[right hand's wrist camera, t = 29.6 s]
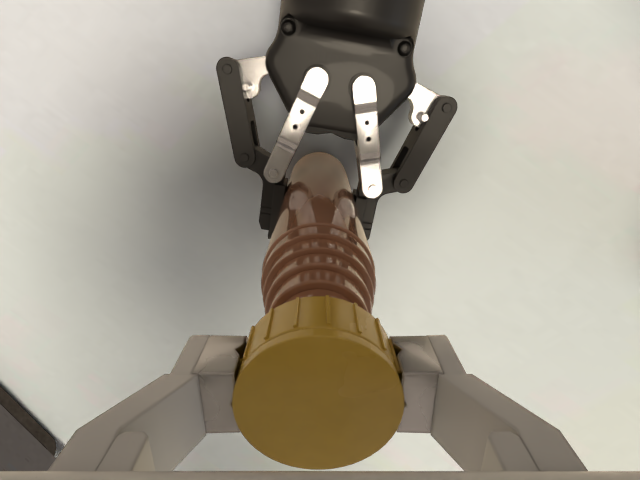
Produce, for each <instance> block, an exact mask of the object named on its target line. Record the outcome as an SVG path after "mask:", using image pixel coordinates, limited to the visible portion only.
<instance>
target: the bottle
mask: <svg viewBox="0 0 640 480" xmlns="http://www.w3.org/2000/svg"><path fill="white" fill-rule="evenodd" d="M261 289H262V295H263V303H264V307H265V315H266V314H267V313H268V312H269V311H270V309H271V308H273V309H274V308H276V307H278V306H280V305H282V304H284V303H286V302H289V301H292V300H294V299H296V297H299V298H303V297H312V296H326V295H329V297H334V298H338V299H343V300H346V301H348V302H351V303H353V304H354V302H355V303H357V305H358V306H359V307H361V308H363V309H364V310H365V311H367V312H368V313H370V314H371V315H372V307H373V303H374V295H375V289H376V278H375V266H374V261H373V258H372V255H371V252H370V248H369V245H368V242H367V239H366V236H365V232H364V229H363V226H362V223H361V220H360V216H359V213H358V210H357V207H356V204H355V200H354V197H353V194H352V191H351V188H350V184H349V181H348V178H347V175H346V172H345V169H344V167H343V165H342V164H341V162H340V161H339V160H338V159H337V158H336V157H334V156H333V155H331V154H328V153H324V152H313V153H309V154H307V155H305V156H303V157H302V158H301V159H300V160H298V162H297V163H296V164H295V166H294V168H293V170H292V173H291V176H290V179H289V183H288V186H287V189H286V192H285V195H284V198H283V202H282V205H281V208H280V211H279V214H278V217H277V220H276V224H275V227H274V230H273V233H272V236H271V239H270V243H269V246H268V249H267V252H266V255H265V258H264V262H263V267H262V279H261Z"/></svg>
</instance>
